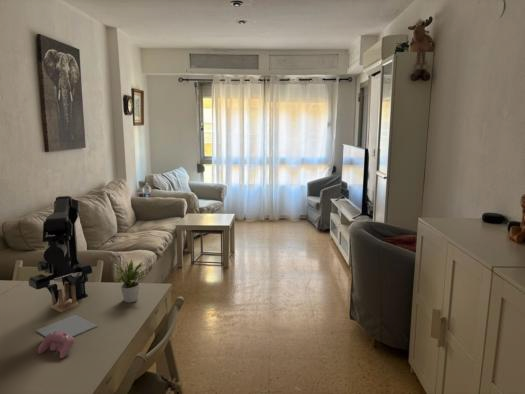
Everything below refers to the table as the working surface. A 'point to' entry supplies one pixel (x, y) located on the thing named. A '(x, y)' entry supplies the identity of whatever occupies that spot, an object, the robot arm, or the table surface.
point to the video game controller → (53, 341)
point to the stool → (67, 302)
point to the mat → (68, 326)
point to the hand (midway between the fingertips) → (64, 299)
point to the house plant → (130, 282)
